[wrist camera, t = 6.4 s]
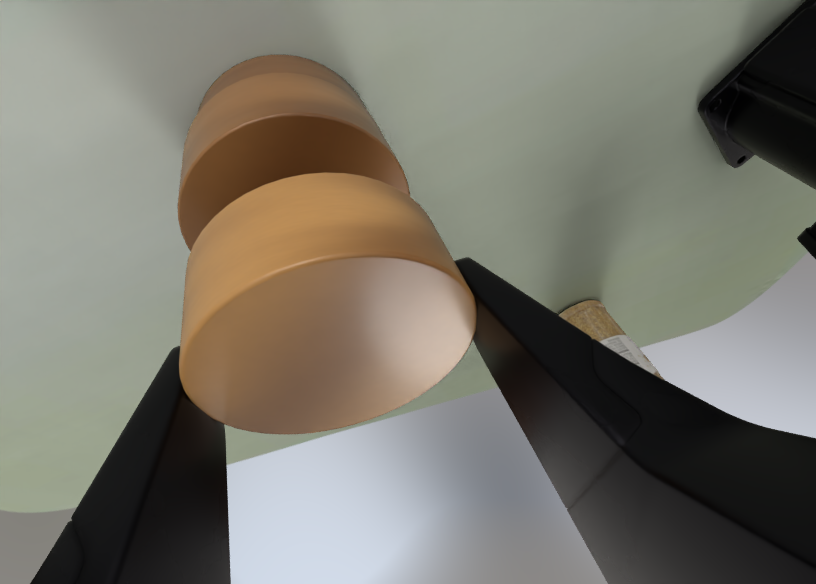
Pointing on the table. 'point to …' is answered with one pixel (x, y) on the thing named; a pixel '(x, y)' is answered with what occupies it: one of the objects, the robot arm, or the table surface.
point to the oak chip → (319, 306)
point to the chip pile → (276, 136)
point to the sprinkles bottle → (606, 331)
